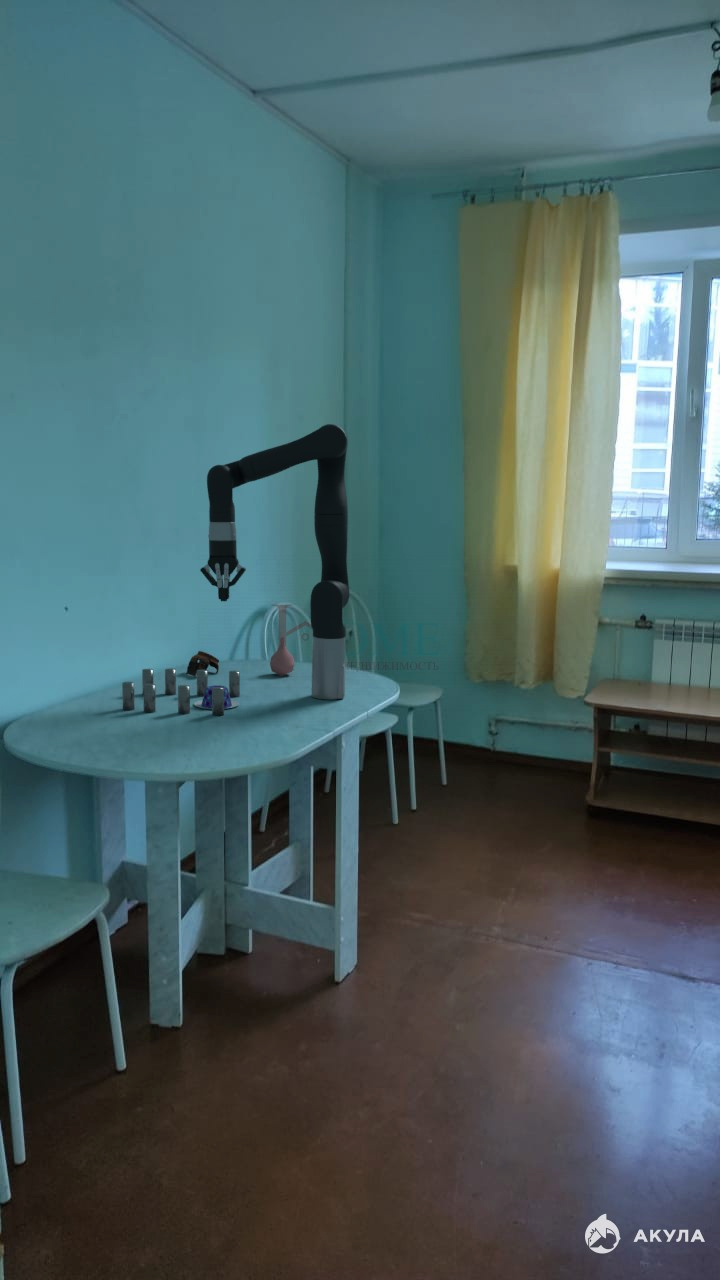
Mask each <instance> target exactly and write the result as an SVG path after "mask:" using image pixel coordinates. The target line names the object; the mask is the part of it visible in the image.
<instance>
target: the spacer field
mask: <svg viewBox="0 0 720 1280" xmlns="http://www.w3.org/2000/svg"><path fill="white" fill-rule="evenodd" d="M208 672H209V670H208V669H207V670H197V673H196V696H197V697H204V693H205V689H206V688H207V687H208V683H209V679H208V678H209V677H208V675H209V673H208ZM141 675H142V686H141V687H142V695H143V712H144V713H147V714H149V713H150V714H151V713H155V712H156V711H157V710H156V709H157V708H156V684H155V683H154V669H153V668H143V669H142V670H141ZM121 686H122V687H121V688H122V693H121V694H122V710H123V711H133V710H135V682H134V681H123V682H122V685H121ZM240 686H241V671H240V670H229V671H228V691H229V695H230V698H239V697H240V696H241V694H240V693H241V690H240V689H241V688H240ZM164 695H165V696H166V695H167V696H175V695H177V697H178V698H177V713H178V714H179V715H187V714H190V713H191V686H190V685H188V684H180V685H177V669H176V668H165V669H164ZM211 715H212V716H213V717H214V716H215V717H222V716H225V709H224V687H213V688H212V708H211Z"/></svg>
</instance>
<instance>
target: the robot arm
mask: <svg viewBox="0 0 720 1280" xmlns="http://www.w3.org/2000/svg"><path fill="white" fill-rule="evenodd" d="M348 440H349V439H348V436H347V434H346V432H345V430H344V429H343V428H342V427H341V426H339V425H337V424H333V423H328V424H324V425H322V426H321V427H319V428H318V429H316V430H314V431H312V432H310V433H309V434H306V435H304V436H303V437H300V438H299V439H295V440H293V441H291V442H288V443H284V444H281V445H277V446H273V447H270V448H266V449H265V450H260V451H258V452H255V453H252V454H248V455H246V456H244V457H241V459H239V460H236V461H232V462H229V463H226V464H216V465H214V466H212V467H211V468H210V469H209V470H208V473H207V474H206V488H207V494H208V495H207V496H208V502H209V508H208V509H209V511H208V513H209V515H208V517H209V520H208V521H209V526H208V534H207V535H208V554H209V555H208V556H209V558H208V559H207V563H206V564H205V565H204V566H202V567H201V568H200V572H201V573H202V574H203V576H204V577H205V578H206V580H207V581H208V582H209V583H210V585H212V586H213V587H216V588H217V589H218V590H217V591H218V593H217V594H218V600H220V602H227V601H228V600H229V599H230V587H232V586H235V585H236V584H237V582H239V580H240V579H241V578H242V577H243V575H244V574H245V572H246V571H247V568H246V567H243V566H242V565H241V564H239V563H240V562H239V559H238V558H237V557H238V554H237V553H238V552H237V549H238V547H237V528H236V510H235V502H234V500H233V499H234V498H233V496H234V495H233V494H234V493H233V489H235V488H238V487H241V486H242V485H244V484H248V483H251V482H255V481H260V480H261V479H265V478H268V477H270V476H273V475H276V474H278V473H281V472H283V471H285V470H287V469H290V468H292V467H294V466H297V465H300V464H304V463H306V462H307V463H308V462H310V461H316V462H317V463H316V464H317V475H318V476H317V486H316V492H315V501H314V515H313V516H314V518H313V520H314V535H315V540H316V543H317V547H318V550H319V551H318V552H319V555H320V558H321V559H320V561H321V576H320V581H319V582H317V583H316V584H315V585H314V586H313V588H312V590H311V595H310V625H311V629H312V630H311V631H312V648H311V649H312V650H311V651H312V652H311V653H312V659H311V660H312V661H311V666H312V667H311V697H312V698H315V699H318V700H338V699H339V700H341V699H343V700H344V698H345V693H346V666H347V665H346V632H347V631H346V630H347V629H346V626H345V625H344V621H343V609H344V608H345V606H347V604H348V602H349V600H350V586H349V585H350V584H349V576H348V575H349V574H348V564H347V558H348V528H349V524H348V523H349V522H348V521H349V520H348V519H349V518H348V517H349V515H348V514H349V512H348V498H347V497H348V495H347V489H346V480H345V469H346V467H345V466H346V460H347V459H346V458H347V450H348V443H349V441H348ZM211 571H212V573H214V575H215V577H216V578H215V577H214V576H213V575H212V574H211V573H210V572H211ZM234 571H236V574H235V576H234V577H233V578H232V579H231V575H232V574H233V572H234Z"/></svg>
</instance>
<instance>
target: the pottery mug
mask: <svg viewBox="0 0 720 1280" xmlns="http://www.w3.org/2000/svg"><path fill="white" fill-rule="evenodd" d="M219 662H220V659H218V658H217V657H215V656H214V655H211V654H209V653H208V652H205V651H201V650H198V652H197V653H196V654H195V655H193V656H192V657H190V660H189V662H188V665H187V668H186V674H187V675H190V676H191V677H197V670H208V668H209V666H210V667H212V668H215V670H216V671H215V674H216V675H217V674H218V673H219V669H220V666H219Z"/></svg>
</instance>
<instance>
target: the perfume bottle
mask: <svg viewBox="0 0 720 1280" xmlns="http://www.w3.org/2000/svg"><path fill="white" fill-rule="evenodd" d="M269 661H270V662H269V666H270V667H269V668H270V669H271V672H273V673H274V674H277V675H278V676H280V677H285V676H286V675H287V674H290V673H292V672H293V669H294V667H295V659H294V656H293V655H292V654H291V653H290V652H289V650H288V648H287V647H286V637H285V636H280V637H279V646H278V648H277V650H276V651H275V652H274V653H273V654H272V655H271V657H270V660H269Z"/></svg>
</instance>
